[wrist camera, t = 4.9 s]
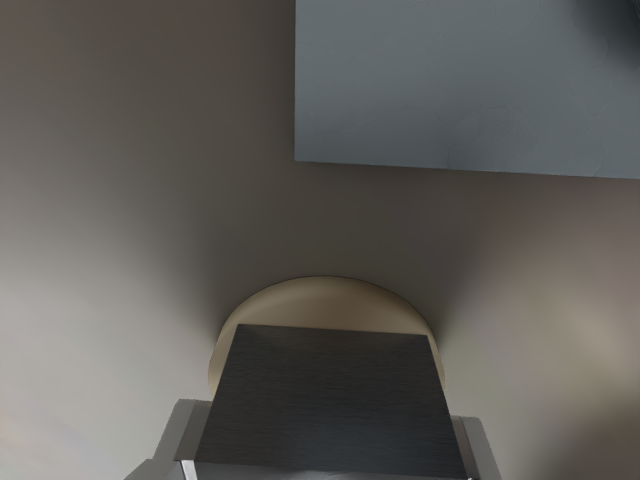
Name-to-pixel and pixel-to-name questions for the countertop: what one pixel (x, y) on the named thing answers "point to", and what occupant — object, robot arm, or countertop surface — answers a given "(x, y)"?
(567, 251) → the countertop surface
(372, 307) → the stand
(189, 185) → the countertop surface
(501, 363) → the countertop surface
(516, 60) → the grey plate with knob
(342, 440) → the square hollow frame
